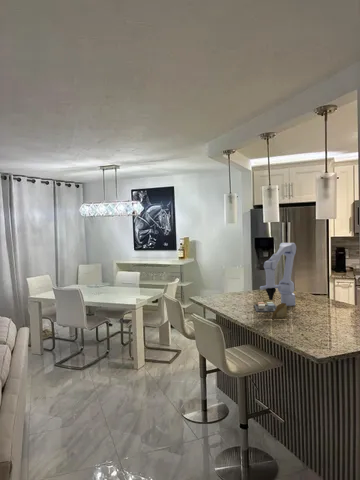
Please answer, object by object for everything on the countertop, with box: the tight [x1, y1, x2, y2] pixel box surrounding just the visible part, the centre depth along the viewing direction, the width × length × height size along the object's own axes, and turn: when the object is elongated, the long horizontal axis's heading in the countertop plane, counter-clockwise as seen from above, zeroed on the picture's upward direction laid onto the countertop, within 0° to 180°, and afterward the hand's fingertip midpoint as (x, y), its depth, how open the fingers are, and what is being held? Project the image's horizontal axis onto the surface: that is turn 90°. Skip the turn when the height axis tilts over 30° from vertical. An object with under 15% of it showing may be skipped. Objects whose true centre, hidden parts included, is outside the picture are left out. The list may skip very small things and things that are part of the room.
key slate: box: [268, 303, 276, 308], centre depth 235 cm, size 4×4×2 cm
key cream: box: [257, 303, 266, 309], centre depth 236 cm, size 4×4×2 cm
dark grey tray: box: [253, 303, 277, 313], centre depth 239 cm, size 14×18×2 cm
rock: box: [271, 302, 288, 321], centre depth 218 cm, size 11×9×10 cm
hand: (270, 299), depth 235 cm, fingers closed
